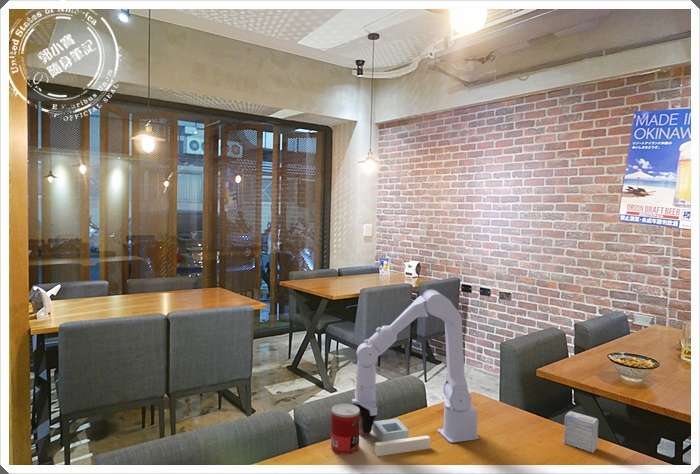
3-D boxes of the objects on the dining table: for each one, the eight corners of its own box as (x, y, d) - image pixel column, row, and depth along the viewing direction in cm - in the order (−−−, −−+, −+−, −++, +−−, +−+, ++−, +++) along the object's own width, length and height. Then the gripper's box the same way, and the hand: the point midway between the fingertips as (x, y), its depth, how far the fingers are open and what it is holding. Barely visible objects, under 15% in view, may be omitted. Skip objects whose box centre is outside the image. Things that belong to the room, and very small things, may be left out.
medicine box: (597, 448, 130) (599, 418, 129) (593, 454, 126) (594, 423, 126) (568, 438, 135) (569, 410, 135) (563, 444, 132) (564, 414, 131)
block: (397, 427, 139) (397, 418, 139) (408, 440, 132) (408, 430, 131) (372, 431, 137) (373, 421, 137) (382, 444, 129) (382, 433, 129)
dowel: (367, 430, 137) (368, 414, 137) (371, 435, 134) (372, 419, 134) (357, 432, 136) (357, 415, 136) (361, 437, 133) (361, 420, 132)
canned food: (356, 456, 122) (357, 416, 122) (327, 452, 124) (328, 413, 123) (361, 442, 130) (362, 405, 129) (334, 439, 131) (335, 402, 131)
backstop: (427, 445, 129) (427, 435, 129) (430, 448, 127) (430, 438, 127) (374, 453, 124) (375, 442, 124) (376, 456, 122) (377, 445, 122)
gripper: (345, 377, 140) (344, 420, 140) (361, 395, 126) (359, 442, 127) (367, 375, 142) (366, 417, 143) (384, 392, 128) (383, 439, 129)
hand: (364, 429), depth 135 cm, fingers closed on dowel, 3 cm apart
